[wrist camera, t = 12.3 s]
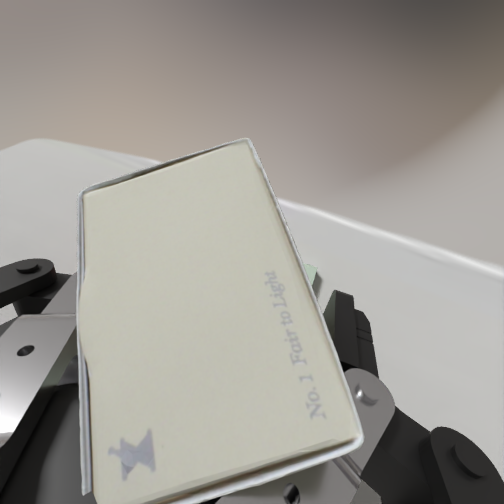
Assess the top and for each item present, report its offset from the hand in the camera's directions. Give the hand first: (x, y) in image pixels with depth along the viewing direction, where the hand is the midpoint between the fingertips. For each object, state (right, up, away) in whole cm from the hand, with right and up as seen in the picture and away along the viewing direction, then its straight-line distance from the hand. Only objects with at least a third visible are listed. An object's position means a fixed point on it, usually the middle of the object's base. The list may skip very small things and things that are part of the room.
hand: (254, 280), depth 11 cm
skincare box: (0, -3, +5) cm, 6 cm away
